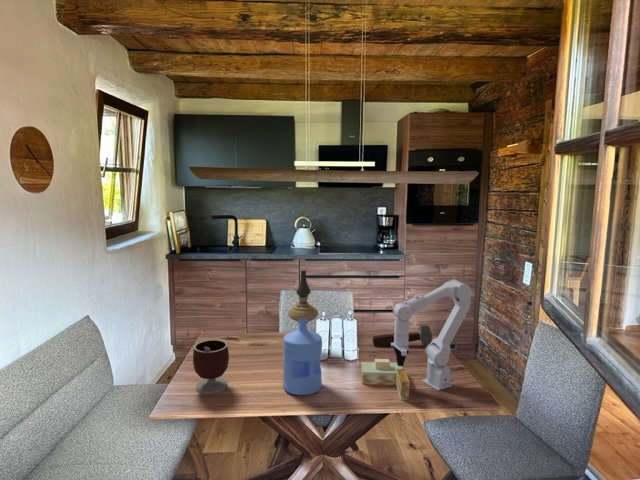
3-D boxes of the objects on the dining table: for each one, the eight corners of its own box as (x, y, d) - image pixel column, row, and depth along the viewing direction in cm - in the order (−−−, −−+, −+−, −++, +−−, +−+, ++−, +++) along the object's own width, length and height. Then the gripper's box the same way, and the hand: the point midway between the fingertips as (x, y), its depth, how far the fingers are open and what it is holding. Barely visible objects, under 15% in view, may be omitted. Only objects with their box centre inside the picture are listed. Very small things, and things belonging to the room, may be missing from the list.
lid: (400, 367, 177) (400, 356, 176) (404, 377, 167) (404, 366, 166) (360, 366, 177) (361, 355, 177) (362, 376, 167) (363, 365, 167)
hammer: (374, 354, 207) (433, 346, 207) (372, 333, 206) (431, 325, 206) (373, 350, 212) (430, 343, 212) (371, 329, 210) (428, 322, 211)
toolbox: (399, 374, 177) (400, 362, 177) (409, 400, 155) (410, 387, 155) (360, 373, 178) (361, 361, 177) (365, 399, 156) (365, 386, 155)
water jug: (275, 384, 166) (275, 318, 163) (306, 374, 176) (307, 311, 172) (297, 400, 154) (297, 329, 150) (329, 388, 164) (330, 321, 160)
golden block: (404, 374, 165) (404, 369, 165) (409, 388, 154) (409, 382, 154) (396, 374, 165) (396, 368, 165) (401, 388, 154) (401, 381, 154)
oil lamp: (283, 347, 205) (283, 269, 200) (310, 342, 211) (311, 267, 206) (294, 358, 191) (294, 275, 186) (322, 353, 198) (324, 273, 192)
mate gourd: (199, 377, 171) (198, 332, 169) (232, 378, 171) (231, 332, 169) (187, 396, 156) (186, 346, 153) (223, 397, 156) (222, 347, 153)
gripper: (388, 327, 171) (387, 357, 173) (394, 340, 157) (393, 373, 159) (405, 327, 171) (404, 358, 173) (412, 340, 157) (411, 373, 158)
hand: (400, 365), depth 166 cm, fingers closed
